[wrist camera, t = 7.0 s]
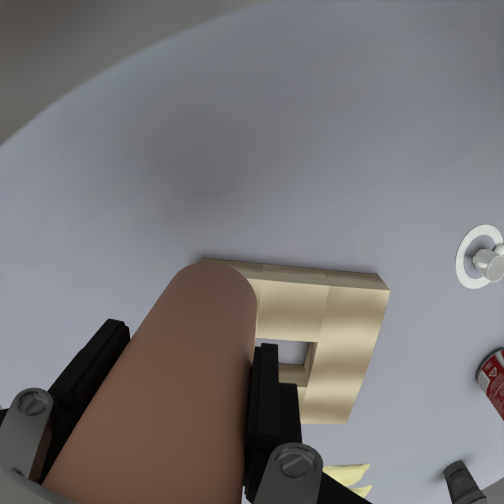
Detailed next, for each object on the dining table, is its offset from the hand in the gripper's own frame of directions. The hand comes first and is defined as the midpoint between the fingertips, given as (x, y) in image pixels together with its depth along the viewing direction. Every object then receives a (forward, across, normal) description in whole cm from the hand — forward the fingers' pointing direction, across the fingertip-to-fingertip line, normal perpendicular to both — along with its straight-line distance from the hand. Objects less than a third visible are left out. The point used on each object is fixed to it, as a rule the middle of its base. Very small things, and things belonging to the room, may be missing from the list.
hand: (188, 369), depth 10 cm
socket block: (+21, -6, +13) cm, 25 cm away
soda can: (+22, -39, +16) cm, 47 cm away
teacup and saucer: (+22, -30, +2) cm, 37 cm away
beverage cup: (+22, -48, +44) cm, 68 cm away
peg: (+5, 0, 0) cm, 5 cm away
